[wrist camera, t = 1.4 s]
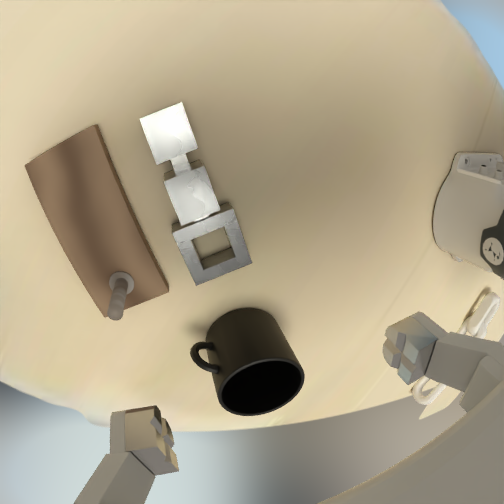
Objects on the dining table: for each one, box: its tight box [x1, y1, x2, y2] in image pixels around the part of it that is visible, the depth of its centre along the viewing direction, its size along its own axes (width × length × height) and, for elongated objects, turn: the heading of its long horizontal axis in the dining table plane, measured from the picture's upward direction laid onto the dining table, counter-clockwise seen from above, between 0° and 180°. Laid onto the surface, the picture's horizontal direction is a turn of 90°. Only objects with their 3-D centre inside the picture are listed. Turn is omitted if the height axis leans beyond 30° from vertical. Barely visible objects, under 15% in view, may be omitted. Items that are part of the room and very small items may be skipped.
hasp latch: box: [140, 102, 252, 286], centre depth 26 cm, size 16×6×4 cm, turn 17°
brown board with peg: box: [25, 125, 169, 320], centre depth 24 cm, size 8×18×7 cm, turn 17°
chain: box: [412, 292, 500, 405], centre depth 52 cm, size 30×6×6 cm, turn 148°
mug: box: [190, 308, 304, 416], centre depth 32 cm, size 9×12×9 cm
